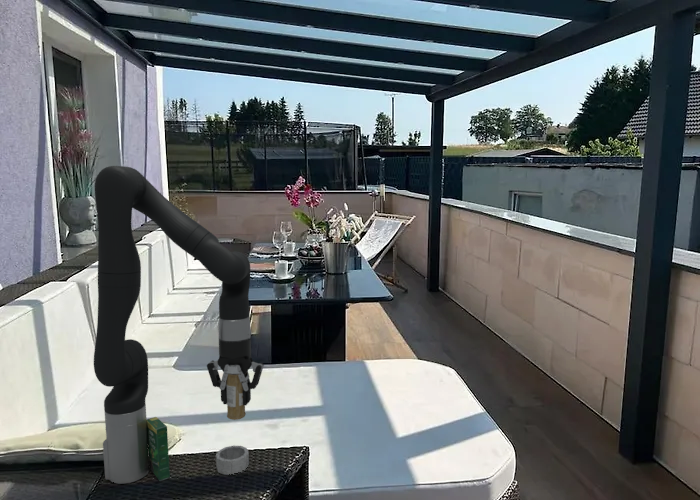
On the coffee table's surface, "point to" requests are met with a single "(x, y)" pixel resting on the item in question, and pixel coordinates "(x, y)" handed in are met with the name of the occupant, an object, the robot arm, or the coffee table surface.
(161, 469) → the coffee box
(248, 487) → the coffee table surface
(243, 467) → the aluminium ring
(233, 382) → the sprinkles bottle
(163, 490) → the coffee table surface
